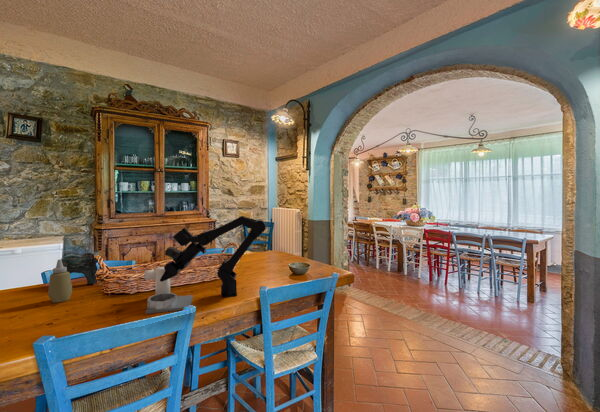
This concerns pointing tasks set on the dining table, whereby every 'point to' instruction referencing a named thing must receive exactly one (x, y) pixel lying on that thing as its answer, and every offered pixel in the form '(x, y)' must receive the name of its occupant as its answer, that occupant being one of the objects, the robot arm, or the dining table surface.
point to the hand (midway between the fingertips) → (164, 277)
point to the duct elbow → (158, 280)
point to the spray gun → (82, 264)
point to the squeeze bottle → (60, 284)
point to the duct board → (176, 307)
